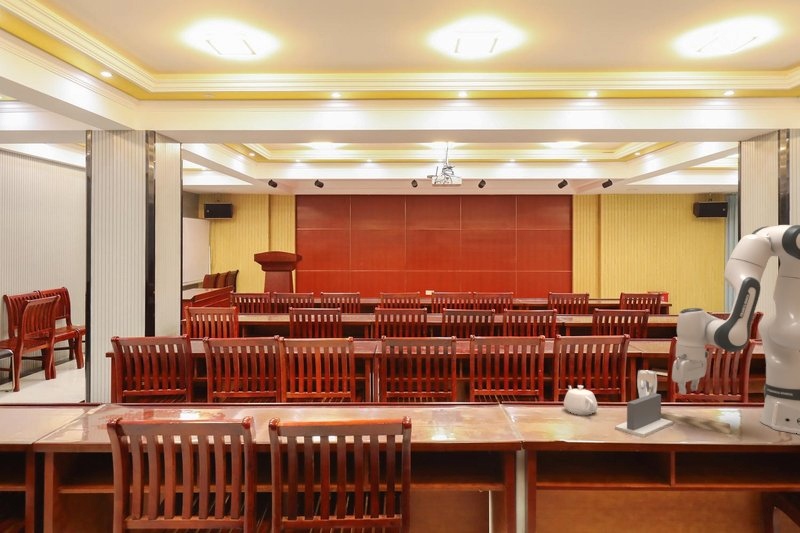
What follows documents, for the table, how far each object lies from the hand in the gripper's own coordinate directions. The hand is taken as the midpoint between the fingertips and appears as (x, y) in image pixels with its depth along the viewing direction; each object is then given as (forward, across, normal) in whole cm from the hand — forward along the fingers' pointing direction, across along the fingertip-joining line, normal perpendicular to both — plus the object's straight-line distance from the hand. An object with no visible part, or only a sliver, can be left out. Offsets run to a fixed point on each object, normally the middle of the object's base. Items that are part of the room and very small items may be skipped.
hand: (688, 391), depth 176 cm
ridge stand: (+12, -14, +8) cm, 21 cm away
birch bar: (+12, +1, -1) cm, 12 cm away
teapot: (+13, -16, +32) cm, 39 cm away
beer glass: (+12, +7, +17) cm, 22 cm away
